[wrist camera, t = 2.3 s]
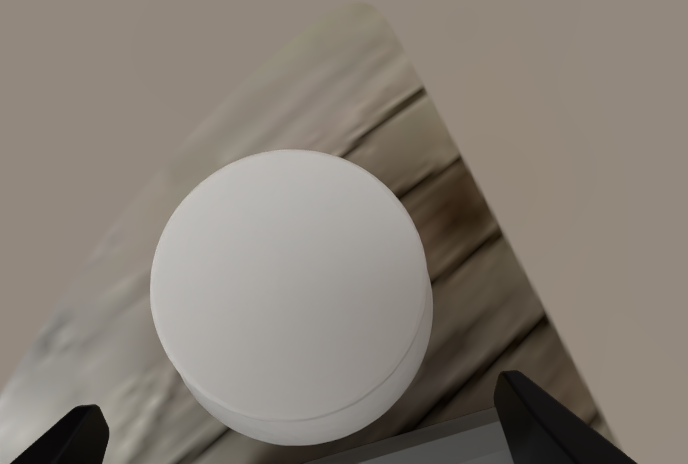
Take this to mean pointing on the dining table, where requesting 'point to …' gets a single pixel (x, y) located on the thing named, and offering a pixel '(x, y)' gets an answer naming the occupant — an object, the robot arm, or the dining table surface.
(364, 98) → the dining table surface
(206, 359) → the supplement bottle
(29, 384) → the dining table surface
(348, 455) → the tray
